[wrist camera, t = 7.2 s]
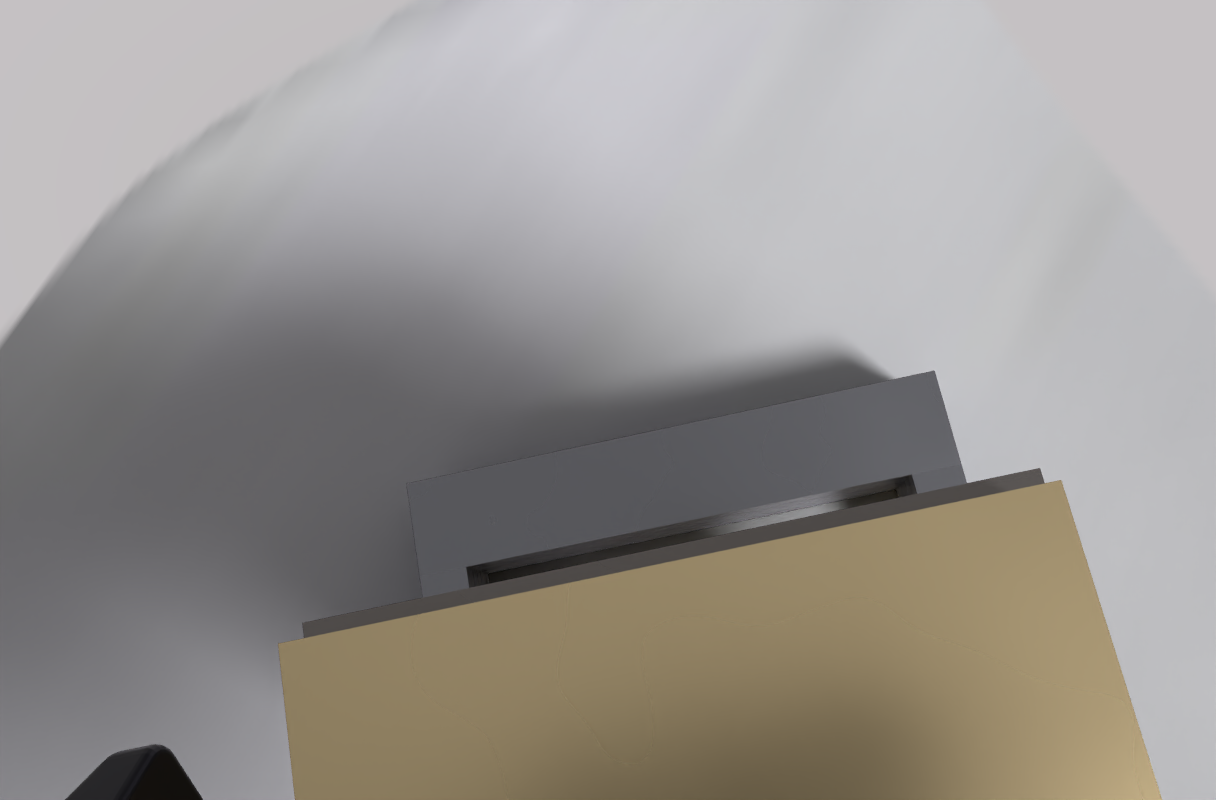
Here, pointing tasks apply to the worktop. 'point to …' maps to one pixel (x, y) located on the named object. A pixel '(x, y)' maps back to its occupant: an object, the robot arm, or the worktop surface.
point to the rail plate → (683, 480)
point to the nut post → (743, 670)
